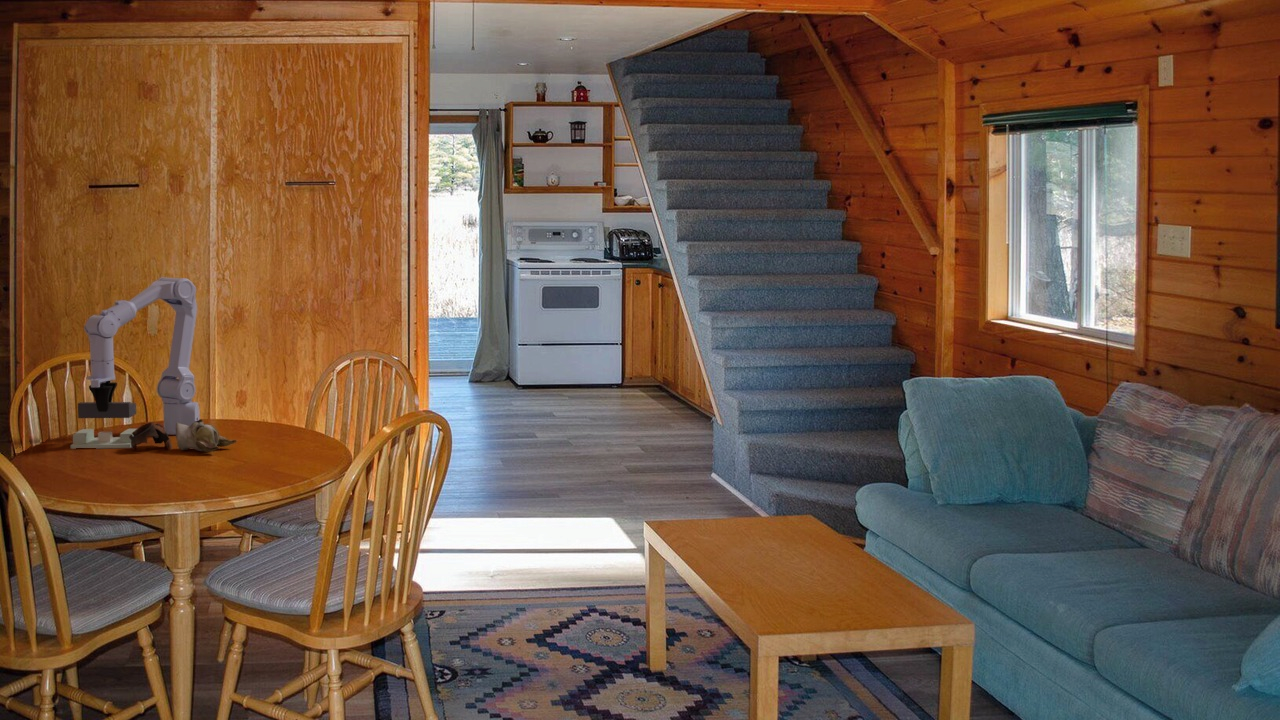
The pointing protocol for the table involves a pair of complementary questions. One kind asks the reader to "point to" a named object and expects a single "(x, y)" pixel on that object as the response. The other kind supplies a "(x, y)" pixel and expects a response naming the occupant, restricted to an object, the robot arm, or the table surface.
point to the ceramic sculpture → (200, 437)
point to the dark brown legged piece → (152, 431)
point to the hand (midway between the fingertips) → (104, 410)
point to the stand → (101, 439)
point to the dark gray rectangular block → (112, 412)
